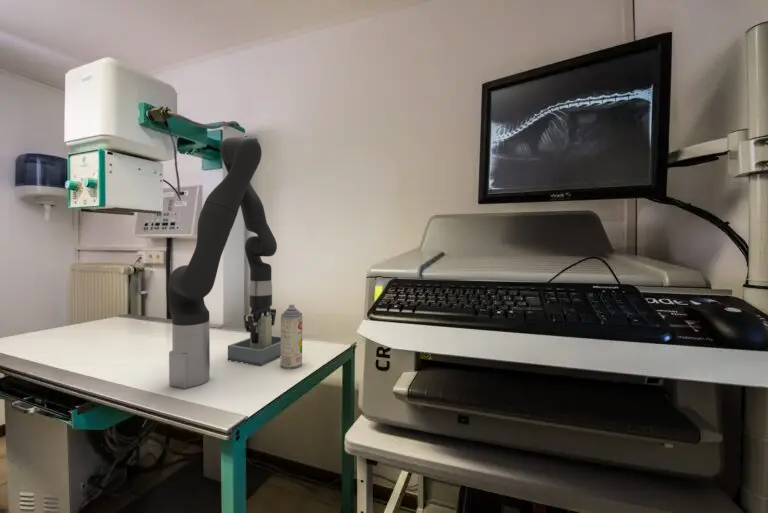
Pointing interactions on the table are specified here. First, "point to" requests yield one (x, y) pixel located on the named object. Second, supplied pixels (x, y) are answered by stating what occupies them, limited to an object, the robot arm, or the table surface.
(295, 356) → the aerosol can
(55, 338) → the table surface
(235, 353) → the tote
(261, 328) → the skincare box
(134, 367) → the table surface
